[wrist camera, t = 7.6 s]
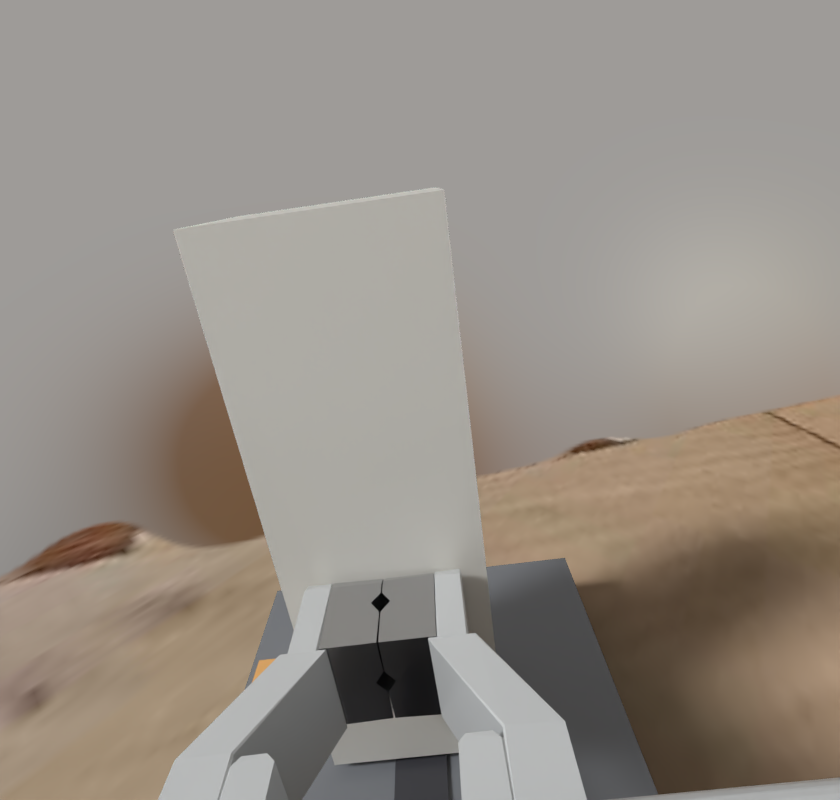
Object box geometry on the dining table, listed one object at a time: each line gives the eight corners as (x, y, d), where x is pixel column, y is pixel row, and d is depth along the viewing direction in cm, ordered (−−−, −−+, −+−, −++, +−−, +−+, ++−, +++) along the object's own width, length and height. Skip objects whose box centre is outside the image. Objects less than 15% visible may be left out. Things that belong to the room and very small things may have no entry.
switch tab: (506, 748, 12) (444, 189, 8) (334, 764, 12) (172, 229, 8) (489, 642, 15) (436, 186, 10) (349, 657, 15) (236, 216, 11)
